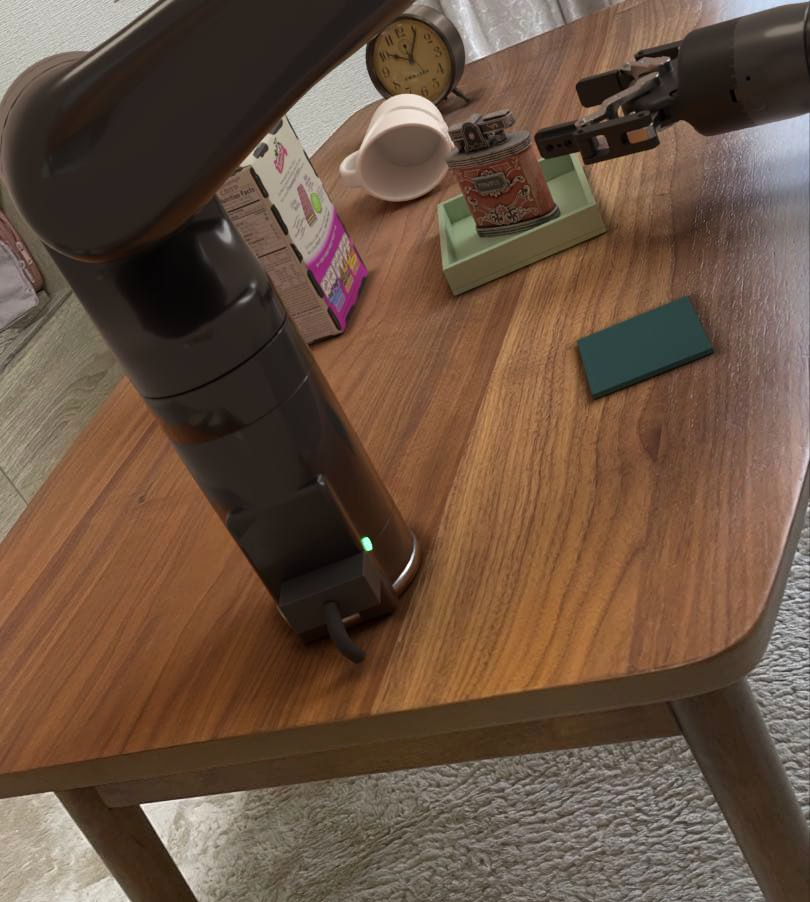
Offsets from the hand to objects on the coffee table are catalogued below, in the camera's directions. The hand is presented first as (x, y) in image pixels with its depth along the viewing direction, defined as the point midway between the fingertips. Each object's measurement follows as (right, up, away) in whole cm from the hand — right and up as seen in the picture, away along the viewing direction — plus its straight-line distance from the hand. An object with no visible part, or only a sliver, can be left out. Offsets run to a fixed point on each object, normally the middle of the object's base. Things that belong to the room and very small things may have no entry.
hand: (559, 119), depth 98 cm
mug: (-11, +3, +30) cm, 32 cm away
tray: (-2, -6, +9) cm, 11 cm away
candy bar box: (-18, -13, +13) cm, 26 cm away
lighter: (-2, -6, +9) cm, 11 cm away
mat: (+4, -20, -15) cm, 26 cm away
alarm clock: (-8, +17, +47) cm, 51 cm away
